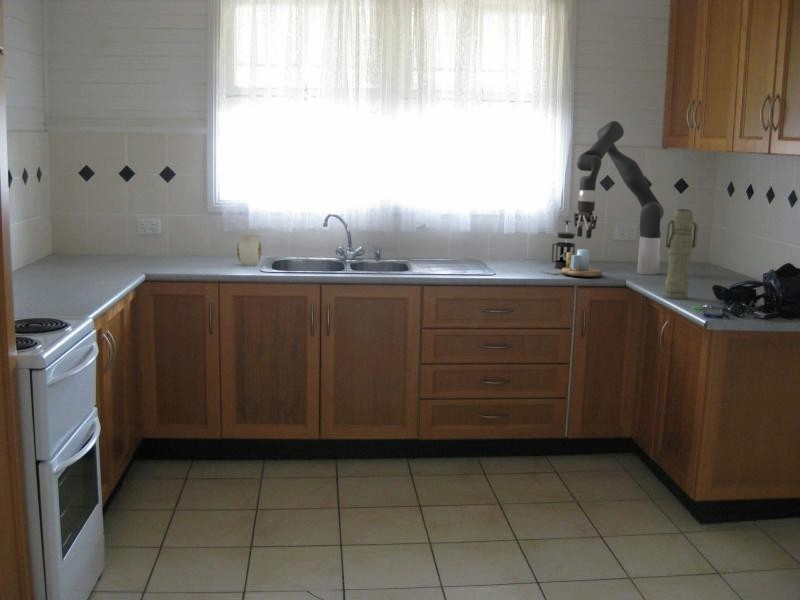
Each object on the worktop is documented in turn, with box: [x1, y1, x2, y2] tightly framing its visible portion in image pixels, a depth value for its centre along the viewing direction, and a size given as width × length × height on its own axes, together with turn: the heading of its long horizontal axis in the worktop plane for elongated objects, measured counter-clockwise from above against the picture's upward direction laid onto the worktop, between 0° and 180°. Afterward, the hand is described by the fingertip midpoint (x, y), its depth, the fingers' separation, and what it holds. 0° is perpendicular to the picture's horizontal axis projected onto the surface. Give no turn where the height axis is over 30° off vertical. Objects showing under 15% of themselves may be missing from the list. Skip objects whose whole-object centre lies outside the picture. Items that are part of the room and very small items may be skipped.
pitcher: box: [236, 234, 262, 267], centre depth 398 cm, size 11×18×14 cm, turn 7°
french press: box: [551, 219, 577, 270], centre depth 418 cm, size 12×9×23 cm
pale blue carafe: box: [570, 248, 591, 271], centre depth 395 cm, size 10×6×9 cm, turn 127°
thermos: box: [664, 208, 699, 300], centre depth 345 cm, size 9×12×35 cm
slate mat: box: [540, 269, 565, 276], centre depth 404 cm, size 10×10×1 cm
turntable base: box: [571, 275, 592, 278], centre depth 398 cm, size 9×9×1 cm
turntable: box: [561, 251, 603, 277], centre depth 397 cm, size 18×18×8 cm
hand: (583, 237), depth 395 cm, fingers open, 6 cm apart
